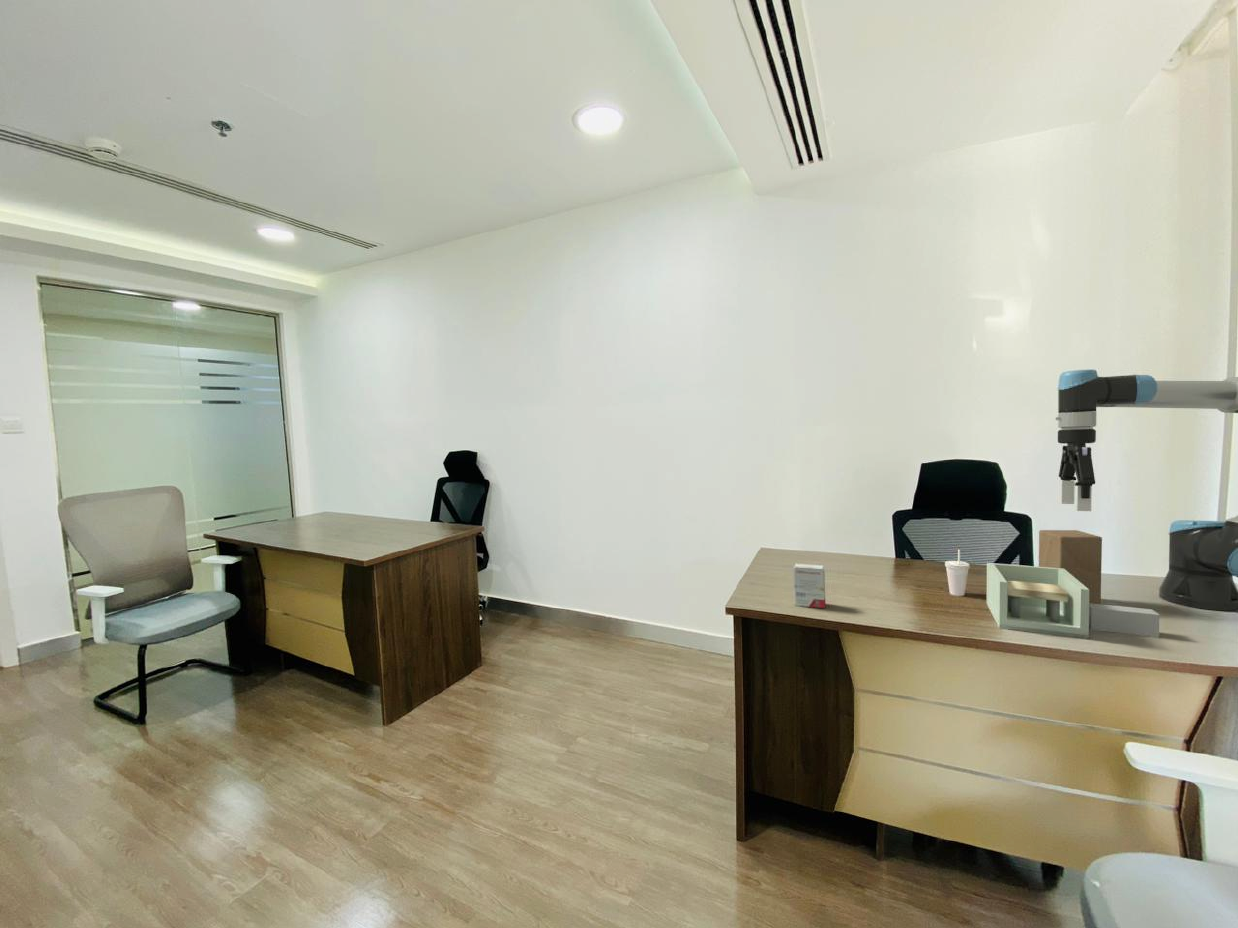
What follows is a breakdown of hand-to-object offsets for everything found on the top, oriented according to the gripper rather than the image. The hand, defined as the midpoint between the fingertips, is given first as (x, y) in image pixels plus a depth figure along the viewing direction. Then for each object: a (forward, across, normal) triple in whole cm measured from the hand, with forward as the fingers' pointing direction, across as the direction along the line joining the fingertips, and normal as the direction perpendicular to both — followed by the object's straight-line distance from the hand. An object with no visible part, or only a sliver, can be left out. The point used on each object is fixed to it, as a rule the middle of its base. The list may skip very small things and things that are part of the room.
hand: (1075, 507), depth 134 cm
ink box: (+29, +22, -65) cm, 74 cm away
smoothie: (+29, -5, -26) cm, 39 cm away
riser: (+29, +12, +6) cm, 32 cm away
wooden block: (+29, -9, +1) cm, 30 cm away
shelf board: (+22, +12, -11) cm, 27 cm away
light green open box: (+29, +12, -11) cm, 33 cm away
